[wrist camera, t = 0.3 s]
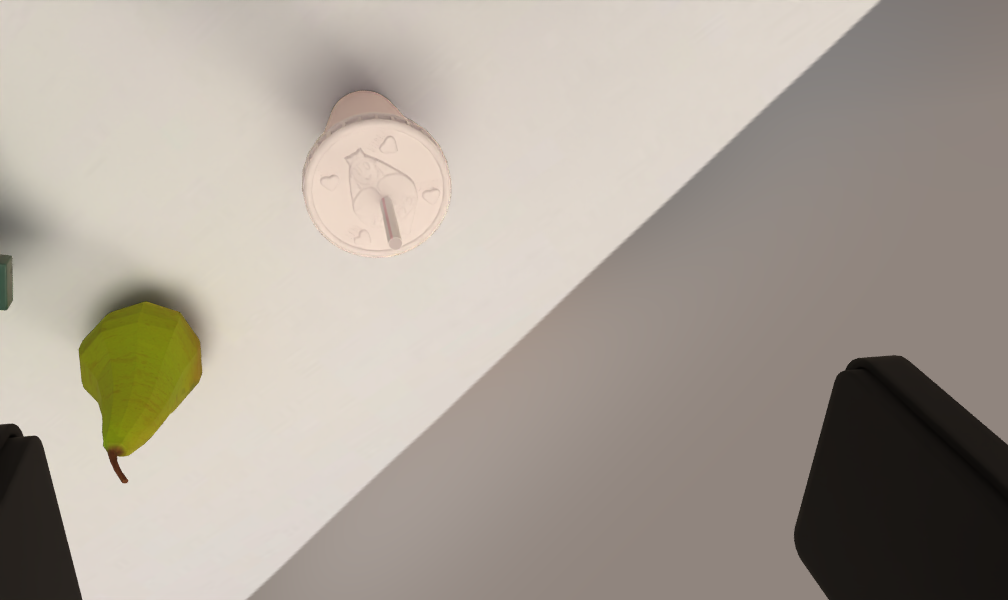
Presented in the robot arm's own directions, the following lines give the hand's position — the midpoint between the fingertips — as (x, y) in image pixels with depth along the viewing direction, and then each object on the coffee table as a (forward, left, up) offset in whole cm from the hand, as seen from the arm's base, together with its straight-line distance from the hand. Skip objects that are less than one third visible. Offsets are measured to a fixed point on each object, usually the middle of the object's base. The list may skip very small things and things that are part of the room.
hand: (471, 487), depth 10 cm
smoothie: (+6, +1, -37) cm, 37 cm away
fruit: (+18, -11, -37) cm, 42 cm away
